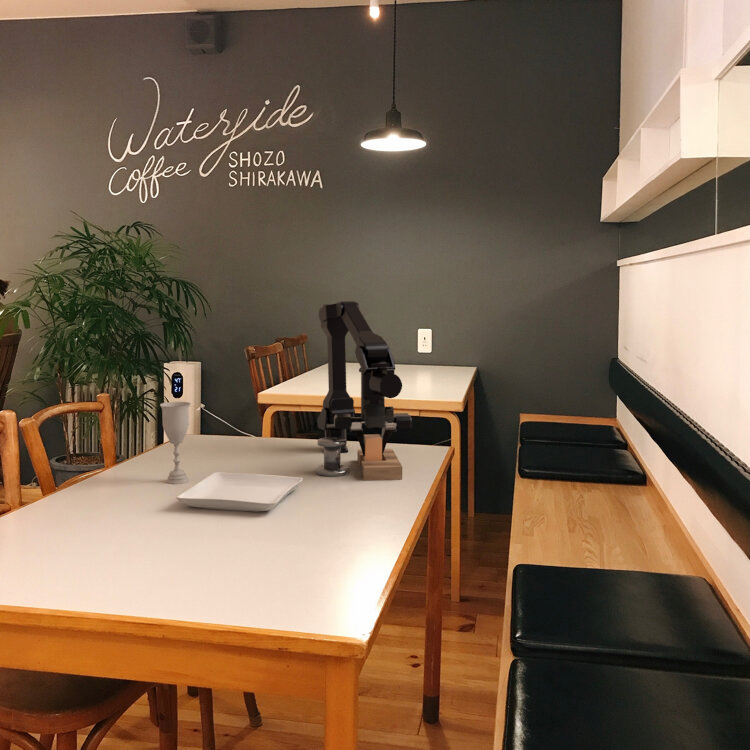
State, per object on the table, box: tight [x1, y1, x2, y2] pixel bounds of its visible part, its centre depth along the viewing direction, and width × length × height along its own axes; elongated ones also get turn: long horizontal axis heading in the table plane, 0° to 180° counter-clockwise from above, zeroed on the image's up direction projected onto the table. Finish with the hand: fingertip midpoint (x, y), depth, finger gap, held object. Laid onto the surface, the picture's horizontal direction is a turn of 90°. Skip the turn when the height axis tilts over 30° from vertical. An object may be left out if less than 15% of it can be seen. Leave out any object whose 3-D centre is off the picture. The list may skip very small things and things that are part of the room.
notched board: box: [356, 448, 403, 481], centre depth 200 cm, size 20×9×3 cm, turn 6°
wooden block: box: [363, 433, 382, 461], centre depth 200 cm, size 5×4×6 cm
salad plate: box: [176, 471, 304, 512], centre depth 174 cm, size 21×21×3 cm
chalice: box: [159, 401, 191, 485], centre depth 188 cm, size 7×7×18 cm
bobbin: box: [315, 437, 350, 478], centre depth 197 cm, size 8×8×8 cm
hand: (372, 455), depth 200 cm, fingers closed on wooden block, 4 cm apart
